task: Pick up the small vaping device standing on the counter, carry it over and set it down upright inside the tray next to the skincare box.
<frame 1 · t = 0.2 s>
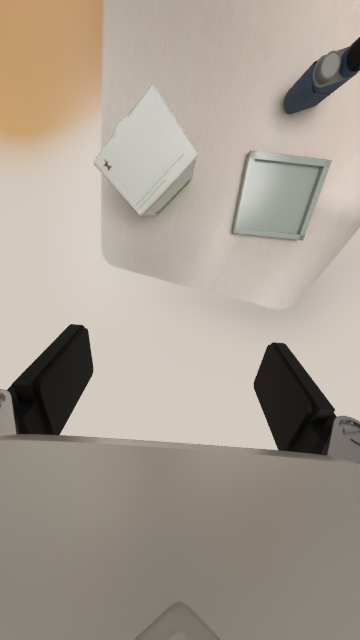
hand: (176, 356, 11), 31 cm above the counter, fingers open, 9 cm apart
skincare box: (160, 180, 33), on the counter
vaping device: (301, 99, 28), on the counter
tray: (274, 199, 34), on the counter
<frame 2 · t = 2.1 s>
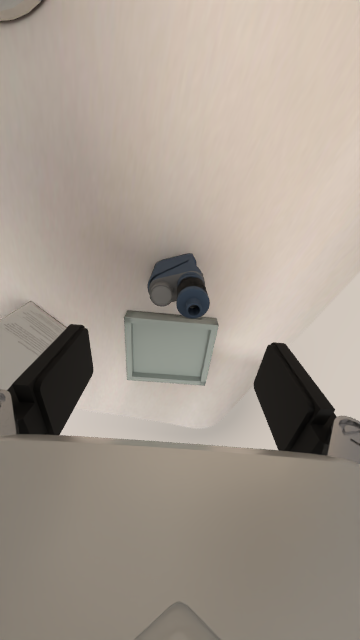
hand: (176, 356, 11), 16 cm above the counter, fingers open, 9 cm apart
skincare box: (36, 329, 29), on the counter
vaping device: (176, 266, 24), on the counter
tray: (169, 347, 30), on the counter
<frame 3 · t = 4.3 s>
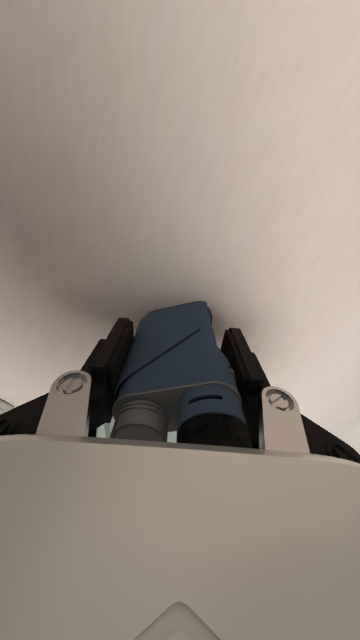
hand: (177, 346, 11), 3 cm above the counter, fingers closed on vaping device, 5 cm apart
vaping device: (178, 319, 14), on the counter, touching gripper
tray: (166, 427, 20), on the counter
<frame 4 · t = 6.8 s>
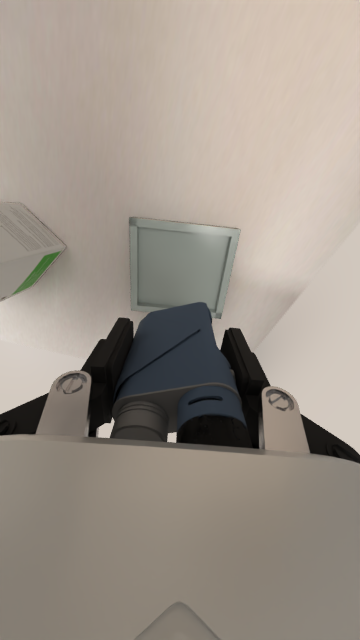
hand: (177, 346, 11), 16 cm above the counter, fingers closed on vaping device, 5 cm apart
skincare box: (28, 245, 25), on the counter
vaping device: (177, 320, 14), point 13 cm above the counter, touching gripper
tray: (180, 270, 26), on the counter
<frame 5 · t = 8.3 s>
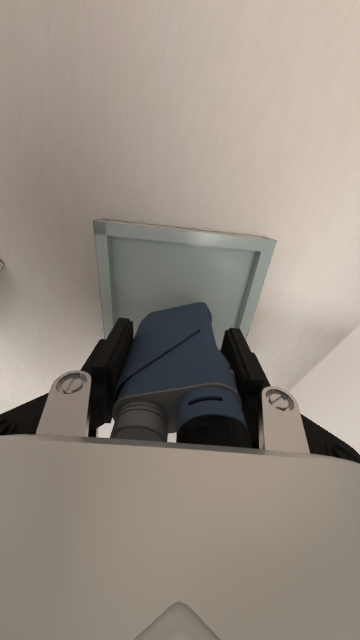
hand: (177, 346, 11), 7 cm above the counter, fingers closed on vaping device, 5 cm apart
vaping device: (177, 320, 14), point 4 cm above the counter, touching gripper
tray: (178, 297, 17), on the counter
when the fingers open (4 cm above the counter, at t = 9.6 s): vaping device stays where it is, resting on tray.
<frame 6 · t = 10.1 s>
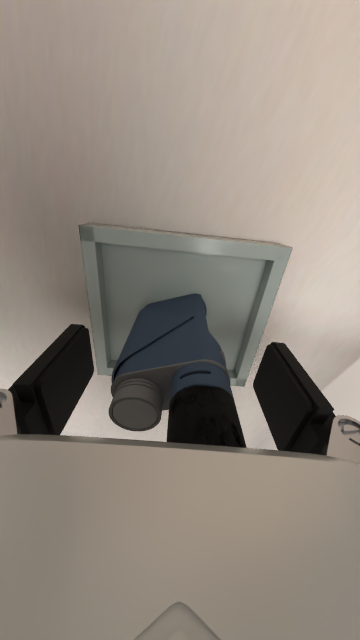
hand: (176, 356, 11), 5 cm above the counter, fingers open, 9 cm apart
vaping device: (174, 311, 15), point 1 cm above the counter, touching tray
tray: (178, 310, 16), on the counter
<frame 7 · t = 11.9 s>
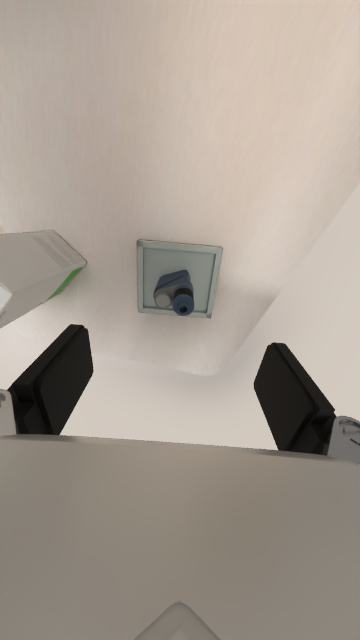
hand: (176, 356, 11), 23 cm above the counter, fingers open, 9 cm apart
skincare box: (56, 262, 32), on the counter
vaping device: (175, 279, 32), point 1 cm above the counter, touching tray
tray: (177, 279, 32), on the counter
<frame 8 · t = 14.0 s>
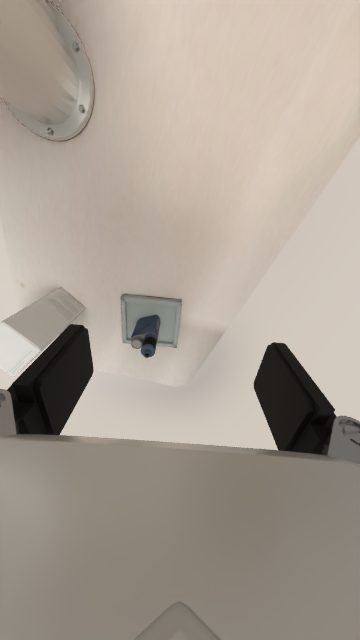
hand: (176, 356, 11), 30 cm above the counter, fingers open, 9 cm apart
skincare box: (62, 307, 43), on the counter
vaping device: (149, 320, 44), point 1 cm above the counter, touching tray
tray: (151, 320, 44), on the counter
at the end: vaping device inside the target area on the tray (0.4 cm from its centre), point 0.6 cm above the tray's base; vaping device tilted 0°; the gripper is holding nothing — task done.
